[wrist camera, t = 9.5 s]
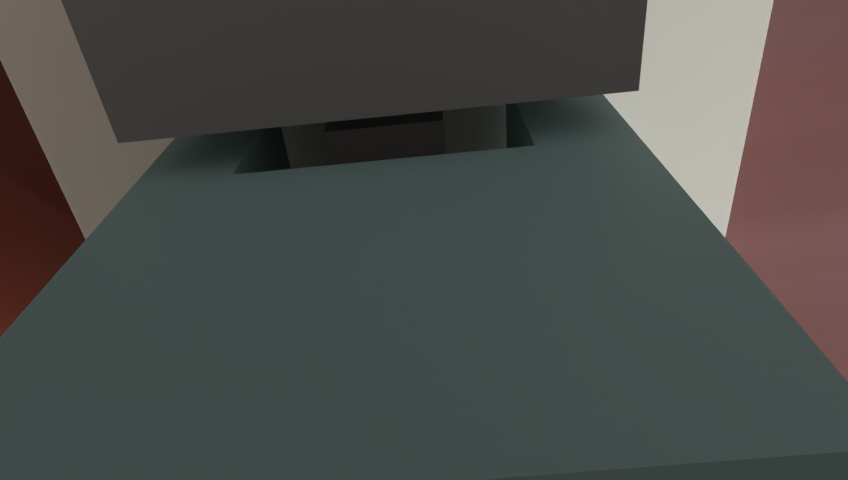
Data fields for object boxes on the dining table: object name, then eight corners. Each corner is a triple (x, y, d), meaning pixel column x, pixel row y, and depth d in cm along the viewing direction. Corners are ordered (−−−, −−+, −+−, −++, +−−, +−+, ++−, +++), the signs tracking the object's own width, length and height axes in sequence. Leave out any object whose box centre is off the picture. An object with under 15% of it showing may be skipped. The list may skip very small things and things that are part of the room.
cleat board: (646, 532, 18) (701, 685, 15) (261, 561, 19) (227, 715, 15) (773, -185, 9) (1006, -219, 5) (-26, -93, 9) (-285, -69, 6)
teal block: (567, 393, 13) (703, 844, 7) (294, 415, 13) (195, 871, 7) (583, 70, 9) (902, 448, 3) (199, 109, 9) (-169, 529, 3)
